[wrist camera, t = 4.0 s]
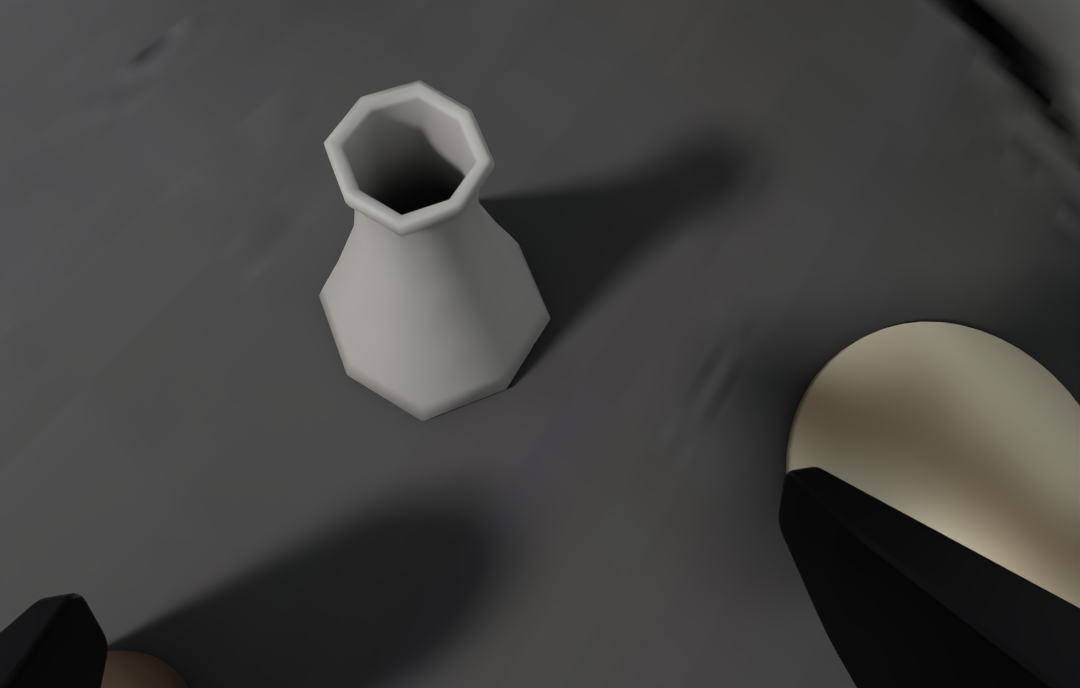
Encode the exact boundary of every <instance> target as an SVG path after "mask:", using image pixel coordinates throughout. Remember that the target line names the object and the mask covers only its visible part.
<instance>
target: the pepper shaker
mask: <svg viewBox="0 0 1080 688" xmlns="http://www.w3.org/2000/svg"><path fill="white" fill-rule="evenodd" d="M101 688H189V687H188V685H187V683H186V682H185V680H184V679H183V678H182V677H181V676H180V674H179V673H178V672H177V671H176V670H174V669H173V668H172V667H171V666H170V665H169V664H167V663H165V662H164V661H162V660H161V659H159V658H157V657H154V656H152V655H150V654H146V653H142V652H139V651H131V650H112V651H107V660H106V665H105V670H104V675H103V680H102V685H101Z"/></svg>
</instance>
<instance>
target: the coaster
mask: <svg viewBox="0 0 1080 688" xmlns="http://www.w3.org/2000/svg"><path fill="white" fill-rule="evenodd" d="M808 467H818V468H821V469H823V470H825V471H827V472H829V473H831V474H832V475H834V476H836V477H838V478H840V479H842V480H844V481H845V482H847V483H849V484H851V485H853V486H855V487H857V488H858V489H860V490H862V491H864V492H866V493H868V494H869V495H871V496H873V497H875V498H877V499H879V500H881V501H882V502H884V503H886V504H888V505H890V506H892V507H894V508H895V509H897V510H899V511H901V512H903V513H905V514H907V515H908V516H910V517H912V518H914V519H916V520H918V521H919V522H921V523H923V524H925V525H927V526H929V527H931V528H932V529H934V530H936V531H938V532H940V533H942V534H944V535H945V536H947V537H949V538H951V539H953V540H955V541H956V542H958V543H960V544H962V545H964V546H966V547H968V548H969V549H971V550H973V551H975V552H977V553H979V554H981V555H982V556H984V557H986V558H988V559H990V560H992V561H994V562H995V563H997V564H999V565H1001V566H1003V567H1005V568H1006V569H1008V570H1010V571H1012V572H1014V573H1016V574H1018V575H1019V576H1021V577H1023V578H1025V579H1027V580H1029V581H1031V582H1032V583H1034V584H1036V585H1038V586H1040V587H1042V588H1043V589H1045V590H1047V591H1049V592H1051V593H1053V594H1055V595H1056V596H1058V597H1060V598H1062V599H1064V600H1066V601H1068V602H1069V603H1071V604H1073V605H1075V606H1077V607H1079V608H1080V406H1079V404H1078V403H1077V402H1076V401H1075V399H1074V398H1073V397H1072V395H1071V394H1070V393H1069V391H1068V390H1067V389H1066V388H1065V387H1064V386H1063V385H1062V384H1061V383H1060V382H1059V381H1058V380H1057V379H1056V378H1055V377H1054V376H1053V375H1052V374H1051V373H1050V372H1049V371H1048V370H1047V369H1045V368H1044V367H1043V366H1042V365H1041V364H1040V363H1038V362H1037V361H1036V360H1034V359H1033V358H1032V357H1030V356H1029V355H1027V354H1026V353H1024V352H1023V351H1022V350H1020V349H1019V348H1017V347H1015V346H1013V345H1011V344H1009V343H1008V342H1006V341H1004V340H1002V339H1000V338H998V337H995V336H993V335H990V334H988V333H985V332H983V331H980V330H977V329H973V328H970V327H966V326H962V325H957V324H950V323H944V322H915V323H906V324H900V325H896V326H892V327H888V328H885V329H882V330H879V331H877V332H875V333H872V334H870V335H868V336H865V337H863V338H862V339H860V340H858V341H856V342H854V343H853V344H851V345H850V346H848V347H846V348H845V349H843V350H841V351H840V352H839V353H838V354H836V355H835V356H834V357H833V358H832V359H831V360H829V361H828V362H827V363H826V364H825V365H824V366H823V368H822V369H821V370H820V371H819V372H818V373H817V374H816V375H815V377H814V378H813V380H812V381H811V383H810V384H809V386H808V387H807V389H806V390H805V392H804V394H803V396H802V398H801V400H800V402H799V405H798V407H797V409H796V411H795V415H794V418H793V421H792V425H791V428H790V432H789V438H788V445H787V451H786V474H787V473H788V472H789V471H791V470H796V469H802V468H808Z"/></svg>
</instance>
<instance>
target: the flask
mask: <svg viewBox="0 0 1080 688" xmlns="http://www.w3.org/2000/svg"><path fill="white" fill-rule="evenodd" d="M324 145H325V148H326V151H327V154H328V157H329V159H330V162H331V165H332V167H333V170H334V173H335V175H336V178H337V181H338V183H339V186H340V189H341V191H342V194H343V197H344V199H345V202H346V203H347V204H348V205H349V206H350V207H352V208H353V209H355V218H354V227H353V230H352V232H351V234H350V236H349V238H348V241H347V243H346V245H345V247H344V250H343V252H342V254H341V256H340V259H339V261H338V263H337V264H336V266H335V268H334V270H333V271H332V273H331V275H330V277H329V278H328V280H327V282H326V283H325V285H324V287H323V289H322V291H321V293H320V296H319V297H320V299H321V302H322V305H323V308H324V311H325V314H326V317H327V319H328V322H329V325H330V328H331V331H332V334H333V336H334V339H335V342H336V345H337V348H338V351H339V354H340V356H341V359H342V362H343V365H344V368H345V371H346V373H347V375H348V376H350V377H351V378H353V379H354V380H356V381H358V382H359V383H361V384H363V385H364V386H366V387H367V388H369V389H371V390H372V391H374V392H376V393H377V394H379V395H380V396H382V397H384V398H385V399H387V400H389V401H390V402H392V403H393V404H395V405H397V406H398V407H400V408H402V409H403V410H405V411H406V412H408V413H410V414H411V415H413V416H415V417H416V418H418V419H419V420H421V421H425V420H427V419H430V418H433V417H435V416H438V415H440V414H443V413H446V412H448V411H451V410H453V409H456V408H459V407H461V406H464V405H466V404H469V403H472V402H474V401H477V400H479V399H482V398H485V397H487V396H490V395H493V394H495V393H498V392H500V391H503V390H506V389H507V387H508V386H509V384H510V382H511V381H512V379H513V378H514V376H515V374H516V373H517V371H518V370H519V368H520V366H521V365H522V363H523V362H524V360H525V359H526V357H527V355H528V354H529V352H530V351H531V349H532V347H533V346H534V344H535V343H536V341H537V339H538V338H539V336H540V335H541V333H542V331H543V330H544V328H545V327H546V325H547V323H548V322H549V320H550V319H551V318H550V316H549V313H548V311H547V309H546V306H545V304H544V302H543V299H542V297H541V295H540V292H539V290H538V288H537V285H536V283H535V281H534V278H533V276H532V274H531V271H530V269H529V267H528V264H527V262H526V260H525V258H524V255H523V253H522V251H521V248H520V246H519V244H518V243H517V242H516V241H515V240H514V238H512V237H511V236H510V235H509V234H508V233H507V232H506V231H505V230H504V229H503V228H502V227H501V226H499V225H498V224H497V223H496V222H495V221H494V220H493V218H492V217H491V216H490V215H489V214H488V213H487V212H486V210H485V209H484V208H483V207H482V206H481V205H480V203H479V189H480V188H481V187H482V185H483V184H484V182H485V181H486V179H487V178H488V177H489V175H490V174H491V172H492V170H493V169H494V161H493V158H492V156H491V154H490V151H489V149H488V147H487V145H486V142H485V140H484V138H483V135H482V133H481V131H480V128H479V126H478V124H477V122H476V119H475V117H474V115H473V112H472V110H471V109H469V108H467V107H466V106H464V105H462V104H460V103H459V102H457V101H455V100H453V99H452V98H450V97H448V96H447V95H445V94H443V93H441V92H440V91H438V90H436V89H434V88H433V87H431V86H429V85H427V84H426V83H424V82H422V81H420V80H418V81H415V82H411V83H408V84H404V85H401V86H397V87H394V88H391V89H387V90H384V91H380V92H377V93H373V94H370V95H366V96H363V97H360V99H359V100H358V101H357V102H356V104H355V105H354V106H353V107H352V109H351V110H350V111H349V112H348V114H347V115H346V116H345V117H344V119H343V120H342V121H341V122H340V123H339V125H338V126H337V127H336V128H335V130H334V131H333V132H332V133H331V135H330V136H329V137H328V138H327V140H326V141H325V142H324Z"/></svg>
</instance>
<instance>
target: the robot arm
mask: <svg viewBox="0 0 1080 688" xmlns="http://www.w3.org/2000/svg"><path fill="white" fill-rule="evenodd" d="M779 525H780V529H781V532H782V535H783V537H784V539H785V541H786V544H787V546H788V548H789V550H790V553H791V555H792V557H793V560H794V562H795V564H796V566H797V569H798V571H799V573H800V575H801V578H802V580H803V582H804V585H805V587H806V589H807V591H808V594H809V596H810V598H811V600H812V603H813V605H814V607H815V610H816V612H817V614H818V616H819V618H820V621H821V623H822V625H823V627H824V629H825V631H826V633H827V635H828V637H829V639H830V641H831V643H832V644H833V646H834V648H835V650H836V652H837V654H838V655H839V657H840V659H841V661H842V662H843V664H844V666H845V668H846V669H847V671H848V673H849V675H850V676H851V678H852V680H853V682H854V683H855V685H856V687H857V688H1080V608H1079V607H1077V606H1075V605H1073V604H1071V603H1069V602H1068V601H1066V600H1064V599H1062V598H1060V597H1058V596H1056V595H1055V594H1053V593H1051V592H1049V591H1047V590H1045V589H1043V588H1042V587H1040V586H1038V585H1036V584H1034V583H1032V582H1031V581H1029V580H1027V579H1025V578H1023V577H1021V576H1019V575H1018V574H1016V573H1014V572H1012V571H1010V570H1008V569H1006V568H1005V567H1003V566H1001V565H999V564H997V563H995V562H994V561H992V560H990V559H988V558H986V557H984V556H982V555H981V554H979V553H977V552H975V551H973V550H971V549H969V548H968V547H966V546H964V545H962V544H960V543H958V542H956V541H955V540H953V539H951V538H949V537H947V536H945V535H944V534H942V533H940V532H938V531H936V530H934V529H932V528H931V527H929V526H927V525H925V524H923V523H921V522H919V521H918V520H916V519H914V518H912V517H910V516H908V515H907V514H905V513H903V512H901V511H899V510H897V509H895V508H894V507H892V506H890V505H888V504H886V503H884V502H882V501H881V500H879V499H877V498H875V497H873V496H871V495H869V494H868V493H866V492H864V491H862V490H860V489H858V488H857V487H855V486H853V485H851V484H849V483H847V482H845V481H844V480H842V479H840V478H838V477H836V476H834V475H832V474H831V473H829V472H827V471H825V470H823V469H821V468H818V467H808V468H802V469H796V470H791V471H789V472H788V473H787V474H786V476H785V478H784V483H783V490H782V496H781V503H780V509H779ZM107 649H108V648H107V641H106V637H105V635H104V633H103V631H102V629H101V627H100V626H99V624H98V622H97V620H96V618H95V617H94V615H93V613H92V611H91V610H90V608H89V606H88V604H87V602H86V601H85V599H84V598H83V597H82V596H80V595H79V594H73V593H72V594H65V595H59V596H54V597H48V598H44V599H41V600H39V601H37V602H36V603H34V604H33V605H32V606H31V607H29V608H28V609H27V610H26V611H25V612H24V613H22V614H21V615H20V616H19V617H18V618H17V619H16V620H14V621H13V622H12V623H11V624H10V625H9V626H8V627H6V628H5V629H4V630H3V631H2V632H1V633H0V688H101V685H102V680H103V675H104V670H105V665H106V660H107Z"/></svg>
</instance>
